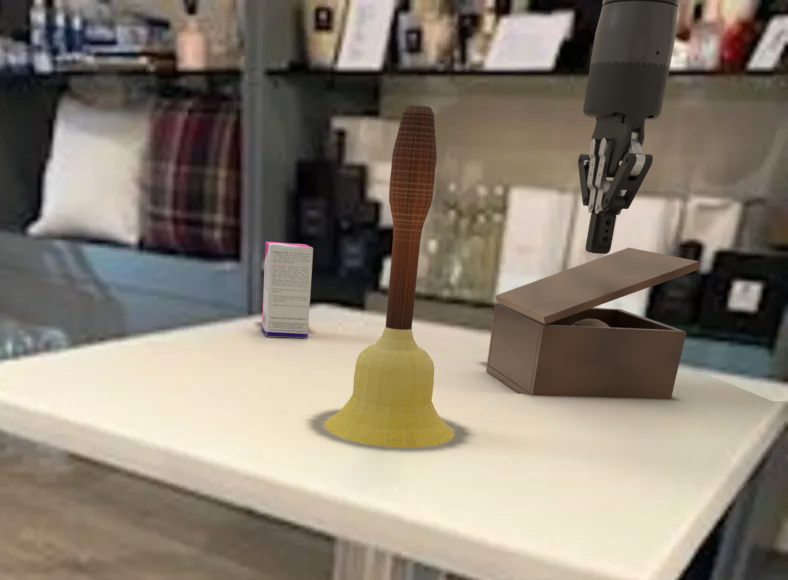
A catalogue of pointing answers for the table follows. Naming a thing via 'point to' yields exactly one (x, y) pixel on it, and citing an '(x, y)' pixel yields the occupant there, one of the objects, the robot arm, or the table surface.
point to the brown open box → (585, 355)
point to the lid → (594, 284)
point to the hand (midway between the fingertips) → (597, 252)
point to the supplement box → (286, 289)
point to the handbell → (399, 313)
